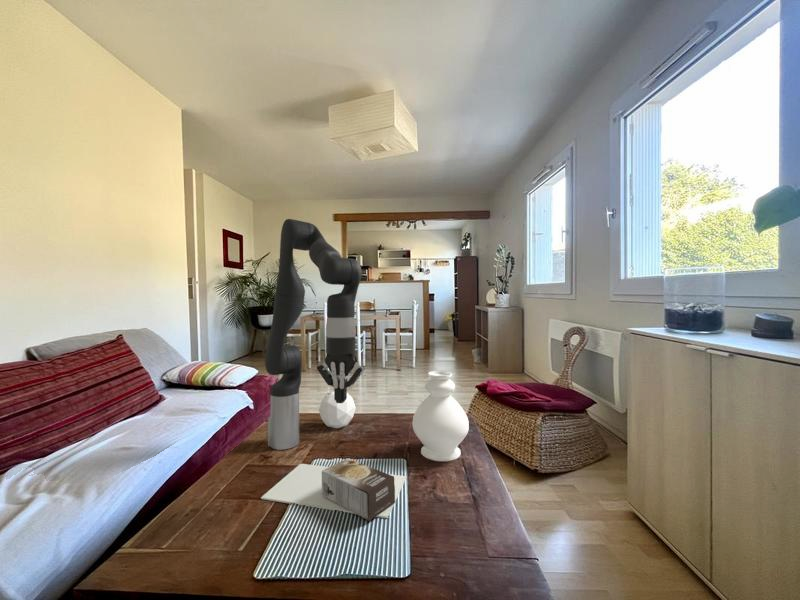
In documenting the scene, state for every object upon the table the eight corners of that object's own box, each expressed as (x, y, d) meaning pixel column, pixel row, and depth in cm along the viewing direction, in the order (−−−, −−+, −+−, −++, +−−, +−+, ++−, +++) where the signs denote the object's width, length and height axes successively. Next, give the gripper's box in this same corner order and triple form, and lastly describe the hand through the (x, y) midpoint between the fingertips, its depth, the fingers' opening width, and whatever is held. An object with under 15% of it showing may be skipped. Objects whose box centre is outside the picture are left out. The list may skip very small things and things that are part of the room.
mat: (261, 499, 82) (261, 497, 82) (300, 464, 99) (300, 463, 99) (387, 518, 74) (387, 516, 74) (406, 477, 91) (406, 476, 91)
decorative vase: (402, 457, 103) (402, 376, 104) (426, 437, 119) (425, 366, 119) (459, 470, 95) (458, 381, 95) (475, 447, 111) (474, 370, 111)
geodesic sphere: (319, 421, 118) (341, 385, 124) (303, 412, 129) (323, 379, 135) (349, 439, 126) (368, 404, 132) (331, 428, 137) (349, 396, 143)
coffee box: (348, 456, 89) (395, 475, 79) (348, 481, 89) (396, 502, 79) (320, 470, 82) (369, 492, 72) (320, 497, 82) (369, 522, 72)
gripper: (310, 335, 85) (309, 404, 84) (359, 337, 81) (359, 409, 81) (324, 333, 92) (323, 396, 92) (370, 334, 88) (369, 400, 88)
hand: (340, 402), depth 86 cm, fingers closed
